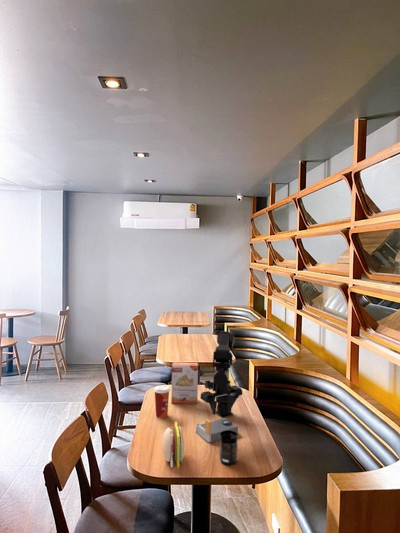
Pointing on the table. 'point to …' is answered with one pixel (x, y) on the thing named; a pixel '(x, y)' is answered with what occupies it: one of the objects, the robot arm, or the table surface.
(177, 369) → the cracker box
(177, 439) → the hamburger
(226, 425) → the box with round button
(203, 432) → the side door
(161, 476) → the table surface
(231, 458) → the supplement container
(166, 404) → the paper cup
